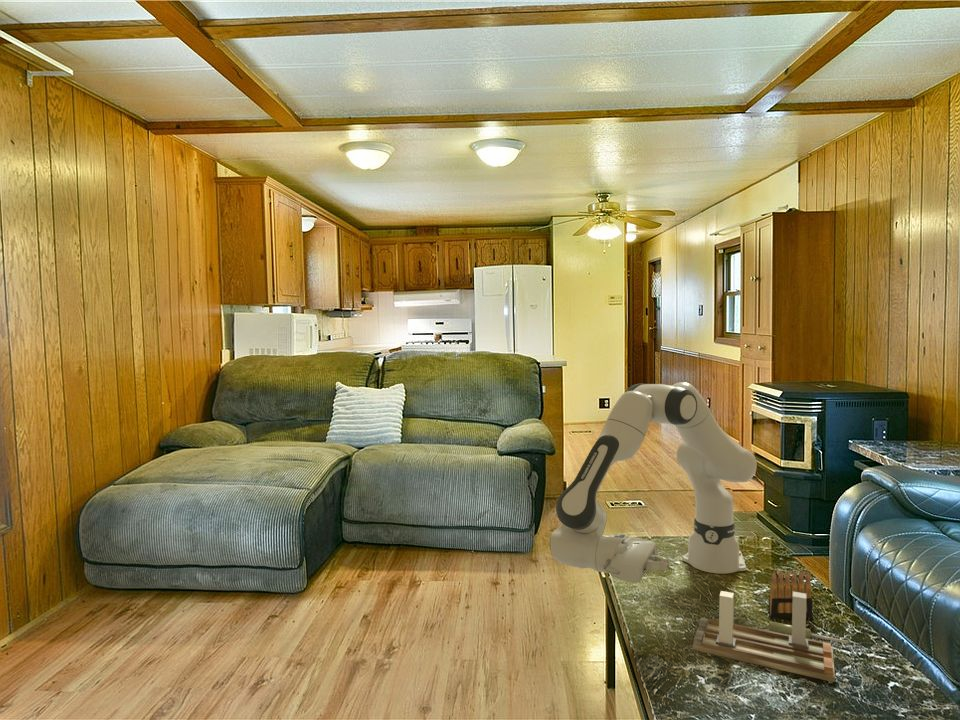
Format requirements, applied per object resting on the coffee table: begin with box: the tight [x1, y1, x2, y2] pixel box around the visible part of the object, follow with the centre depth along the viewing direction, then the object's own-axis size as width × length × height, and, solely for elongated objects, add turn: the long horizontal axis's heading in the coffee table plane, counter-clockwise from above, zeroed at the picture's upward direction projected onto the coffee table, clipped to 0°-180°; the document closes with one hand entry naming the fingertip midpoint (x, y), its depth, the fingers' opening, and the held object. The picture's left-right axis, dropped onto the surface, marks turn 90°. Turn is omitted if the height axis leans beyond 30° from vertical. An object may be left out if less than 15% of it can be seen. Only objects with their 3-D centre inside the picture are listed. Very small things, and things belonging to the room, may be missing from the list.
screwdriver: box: [768, 620, 850, 645], centre depth 149 cm, size 17×3×3 cm, turn 62°
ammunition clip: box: [767, 570, 813, 619], centre depth 160 cm, size 11×2×12 cm, turn 89°
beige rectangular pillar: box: [716, 590, 736, 648], centre depth 144 cm, size 4×4×12 cm
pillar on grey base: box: [789, 591, 808, 649], centre depth 143 cm, size 4×4×12 cm
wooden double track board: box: [692, 617, 836, 683], centre depth 144 cm, size 13×29×2 cm, turn 62°
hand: (668, 565), depth 149 cm, fingers closed
